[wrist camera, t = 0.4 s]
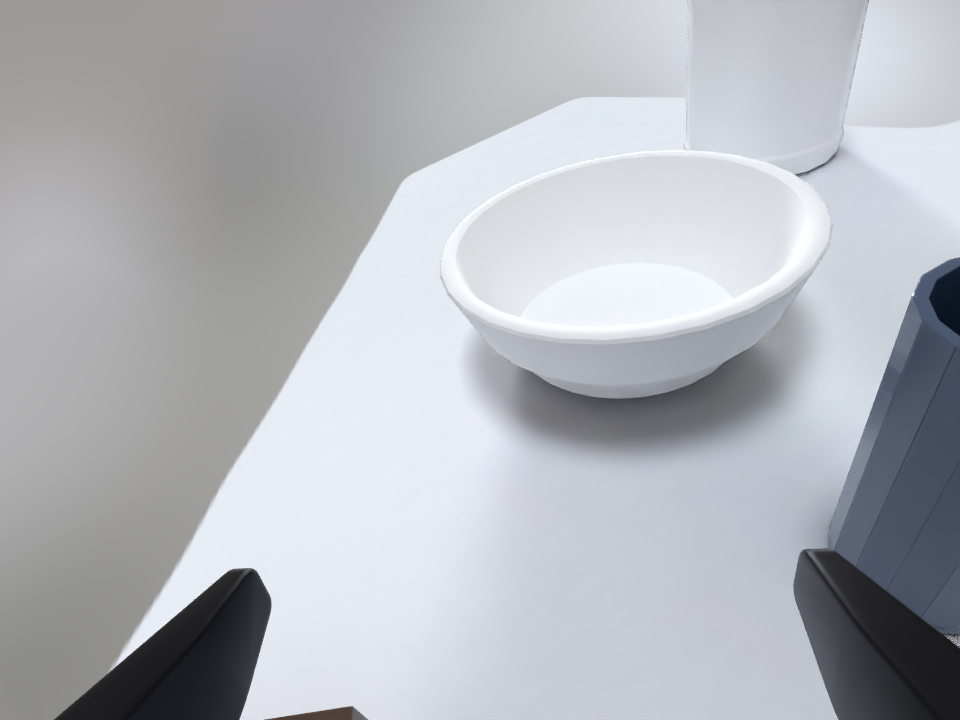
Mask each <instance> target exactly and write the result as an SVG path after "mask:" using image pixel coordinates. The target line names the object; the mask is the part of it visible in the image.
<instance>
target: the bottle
mask: <svg viewBox="0 0 960 720" xmlns="http://www.w3.org/2000/svg"><path fill="white" fill-rule="evenodd" d="M868 3H869V0H687V72H686V139H685V142H684V150H686V151H707V152H717V153H724V154H731V155H738V156H743V157H747V158H751V159H755V160H759V161H763V162H767V163H769V164H772V165H774V166H777V167H779V168H781V169H784V170H786V171H789V172H791V173H793V174H794V175H795V174H799V173H803V172H807V171H809V170H811V169H813V168H815V167H817V166H820V165H822V164H824V163H826V162H827V161H828V160H829V159H830V158H831V157H832V156H833V155H834V154H835V153H836V151H837V150H838V147H839V145H840V142H841V139H842V137H843V134H844V128H843V123H844V119H845V113H846V109H847V104H848V99H849V95H850V90H851V85H852V80H853V76H854V71H855V66H856V61H857V57H858V52H859V47H860V42H861V37H862V32H863V27H864V21H865V17H866V12H867V8H868Z"/></svg>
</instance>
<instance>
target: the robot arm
mask: <svg viewBox="0 0 960 720" xmlns="http://www.w3.org/2000/svg"><path fill="white" fill-rule="evenodd" d="M794 596H795V600H796V603H797V606H798V609H799V611H800V614H801V617H802V620H803V623H804V626H805V629H806V632H807V634H808V637H809V640H810V643H811V646H812V649H813V652H814V655H815V657H816V660H817V663H818V666H819V669H820V672H821V675H822V678H823V680H824V683H825V686H826V689H827V692H828V694H829V697H830V700H831V703H832V705H833V708H834V710H835V713H836V715H837V717H838V719H839V720H960V648H959V647H958V646H956V645H955V644H954V643H953V642H951V641H950V640H949V639H947V638H946V637H945V636H944V635H942V634H941V633H940V632H939V631H937V630H936V629H935V628H933V627H932V626H931V625H930V624H928V623H927V622H926V621H924V620H923V619H922V618H921V617H919V616H918V615H917V614H915V613H914V612H913V611H912V610H910V609H909V608H908V607H906V606H905V605H904V604H903V603H901V602H900V601H899V600H897V599H896V598H895V597H894V596H892V595H891V594H890V593H889V592H887V591H886V590H885V589H883V588H882V587H881V586H880V585H878V584H877V583H876V582H874V581H873V580H872V579H871V578H869V577H868V576H867V575H865V574H864V573H863V572H862V571H860V570H859V569H858V568H856V567H855V566H854V565H853V564H851V563H850V562H849V561H847V560H846V559H845V558H844V557H842V556H841V555H840V554H838V553H837V552H835V551H833V550H831V549H805V550H803V551H802V552H801V553H800V555H799V559H798V564H797V569H796V574H795V579H794ZM270 613H271V597H270V595H269V593H268V591H267V589H266V587H265V586H264V584H263V582H262V580H261V578H260V576H259V574H258V573H257V571H256V570H254V569H252V568H243V569H232V570H230V571H228V572H227V573H225V574H224V575H223V576H222V577H221V578H220V579H218V580H217V581H216V582H215V583H214V584H213V585H211V586H210V587H209V588H208V589H207V590H205V591H204V592H203V593H202V594H201V595H200V596H198V597H197V598H196V599H195V600H194V601H193V602H191V603H190V604H189V605H188V606H187V607H186V608H184V609H183V610H182V611H181V612H180V613H179V614H177V615H176V616H175V617H174V618H173V619H171V620H170V621H169V622H168V623H167V624H166V625H164V626H163V627H162V628H161V629H160V630H159V631H157V632H156V633H155V634H154V635H153V636H152V637H150V638H149V639H148V640H147V641H146V642H145V643H143V644H142V645H141V646H140V647H139V648H137V649H136V650H135V651H134V652H133V653H132V654H130V655H129V656H128V657H127V658H126V659H125V660H123V661H122V662H121V663H120V664H119V665H118V666H116V667H115V668H114V669H113V670H112V671H110V672H109V673H108V674H107V675H106V676H105V677H103V678H102V679H101V680H100V681H99V682H98V683H96V684H95V685H94V686H93V687H92V688H91V689H89V690H88V691H87V692H86V693H85V694H84V695H82V696H81V697H80V698H79V699H78V700H76V701H75V702H74V703H73V704H72V705H71V706H70V707H68V708H67V709H66V710H65V711H64V712H63V713H61V714H60V715H59V716H58V717H57V718H56V719H54V720H239V719H240V716H241V713H242V711H243V708H244V705H245V702H246V699H247V695H248V692H249V689H250V685H251V682H252V678H253V675H254V671H255V667H256V664H257V660H258V656H259V653H260V649H261V645H262V642H263V638H264V635H265V631H266V627H267V624H268V620H269V616H270Z"/></svg>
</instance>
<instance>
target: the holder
mask: <svg viewBox="0 0 960 720" xmlns="http://www.w3.org/2000/svg"><path fill="white" fill-rule="evenodd" d="M266 720H368V719H367V718H366V717H364V716H363V715H362V714H361V713H360V712H359V711H357V710H356V709H355V708H354V707H353V706H350V707H343V708H337V709H330V710H324V711H317V712H311V713H304V714H298V715H291V716H285V717H279V718H272V719H266Z"/></svg>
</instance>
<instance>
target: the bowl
mask: <svg viewBox="0 0 960 720" xmlns="http://www.w3.org/2000/svg"><path fill="white" fill-rule="evenodd" d="M832 228H833V224H832V221H831V217H830V214H829V211H828V207H827V205H826V203H825V201H824V200H823V199H822V198H821V197H820V195H819V194H818V193H817V192H816V191H815V189H814V188H813V187H812V186H811V185H809V184H808V183H806V182H805V181H803V180H802V179H800V178H799V177H797V176H796V175H794V174H793V173H791V172H789V171H786V170H784V169H781V168H779V167H777V166H774V165H772V164H769V163H767V162H763V161H759V160H755V159H751V158H747V157H743V156H738V155H731V154H724V153H717V152H707V151H686V150H673V151H648V152H639V153H629V154H620V155H615V156H609V157H604V158H598V159H592V160H588V161H584V162H580V163H576V164H572V165H569V166H565V167H561V168H558V169H555V170H552V171H550V172H547V173H544V174H541V175H538V176H535V177H533V178H531V179H528V180H526V181H524V182H521V183H519V184H517V185H514V186H512V187H511V188H509V189H507V190H505V191H503V192H501V193H500V194H498V195H496V196H494V197H492V198H491V199H489V200H488V201H487V202H485V203H484V204H482V205H481V206H480V207H478V208H477V209H475V210H474V211H473V212H472V213H471V214H470V215H468V216H467V217H466V218H465V219H464V220H463V221H462V222H461V223H460V224H459V225H458V226H457V228H456V229H455V231H454V232H453V233H452V235H451V236H450V238H449V239H448V241H447V242H446V245H445V248H444V251H443V254H442V257H441V260H440V278H441V280H442V283H443V285H444V287H445V290H446V292H447V294H448V296H449V297H450V298H451V300H452V301H453V302H454V303H455V304H456V306H457V307H458V308H459V309H460V310H461V312H462V313H463V314H464V315H465V317H466V318H467V319H468V320H469V321H470V323H471V324H472V325H473V326H474V327H475V329H476V330H477V331H478V332H479V333H480V335H481V336H482V337H483V338H484V339H485V340H486V342H487V343H488V344H489V345H490V346H491V347H492V348H493V349H494V350H495V351H496V352H497V353H498V354H500V355H501V356H503V357H504V358H506V359H507V360H509V361H511V362H512V363H514V364H515V365H517V366H519V367H521V368H524V369H527V370H529V371H532V372H534V373H535V374H536V375H537V376H539V377H541V378H542V379H544V380H545V381H547V382H548V383H550V384H552V385H554V386H557V387H559V388H562V389H564V390H567V391H569V392H573V393H577V394H582V395H587V396H591V397H601V398H615V399H622V398H637V397H647V396H652V395H657V394H661V393H666V392H671V391H673V390H676V389H679V388H682V387H684V386H687V385H690V384H692V383H694V382H696V381H698V380H700V379H701V378H703V377H705V376H707V375H708V374H710V373H712V372H713V371H715V370H716V369H717V368H718V367H719V366H720V365H721V364H723V363H724V362H725V361H727V360H729V359H730V358H732V357H734V356H736V355H737V354H739V353H741V352H743V351H744V350H746V349H748V348H750V347H751V346H753V345H754V344H755V343H757V342H758V341H759V340H760V339H761V338H762V337H763V336H765V335H766V334H767V333H768V332H769V331H770V330H771V329H772V328H774V327H775V325H776V324H777V322H778V321H779V320H780V318H781V317H782V315H783V314H784V312H785V311H786V310H787V308H788V307H789V305H790V304H791V303H792V301H793V300H794V298H795V297H796V295H797V294H798V293H799V291H800V290H801V288H802V287H803V285H804V284H805V283H806V281H807V280H808V278H809V277H810V276H811V274H812V273H813V271H814V270H815V268H816V267H817V265H818V264H819V262H820V261H821V259H822V257H823V256H824V254H825V253H826V251H827V250H828V248H829V245H830V239H831V233H832Z"/></svg>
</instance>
